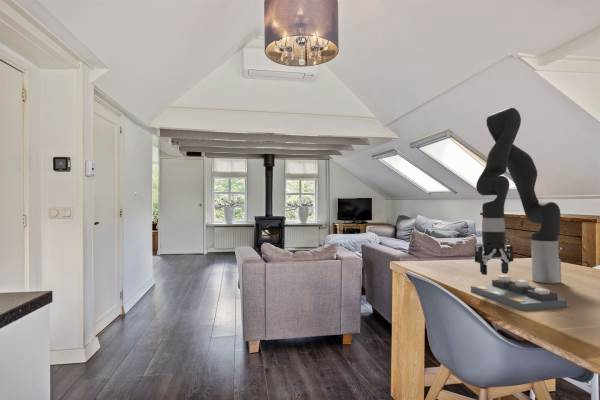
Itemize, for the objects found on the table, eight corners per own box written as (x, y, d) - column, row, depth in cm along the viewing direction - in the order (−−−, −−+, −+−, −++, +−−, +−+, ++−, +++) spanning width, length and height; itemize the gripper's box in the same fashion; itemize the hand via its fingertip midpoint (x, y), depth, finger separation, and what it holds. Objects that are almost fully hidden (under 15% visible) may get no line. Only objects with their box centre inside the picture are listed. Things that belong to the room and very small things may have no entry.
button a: (505, 280, 129) (504, 274, 129) (513, 282, 125) (513, 277, 125) (495, 280, 128) (495, 275, 128) (503, 283, 124) (503, 277, 124)
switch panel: (508, 288, 131) (507, 278, 132) (567, 306, 108) (566, 294, 108) (470, 291, 129) (470, 280, 129) (523, 310, 105) (522, 297, 105)
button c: (542, 293, 113) (541, 287, 113) (552, 297, 109) (552, 290, 109) (531, 294, 113) (531, 288, 113) (542, 297, 109) (542, 291, 109)
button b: (522, 285, 121) (522, 279, 121) (531, 287, 117) (531, 281, 117) (512, 285, 120) (512, 280, 120) (521, 288, 117) (521, 282, 117)
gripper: (502, 228, 131) (503, 271, 131) (469, 229, 129) (470, 272, 129) (518, 230, 124) (519, 275, 124) (483, 231, 121) (484, 277, 121)
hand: (494, 273), depth 126 cm, fingers open, 8 cm apart
